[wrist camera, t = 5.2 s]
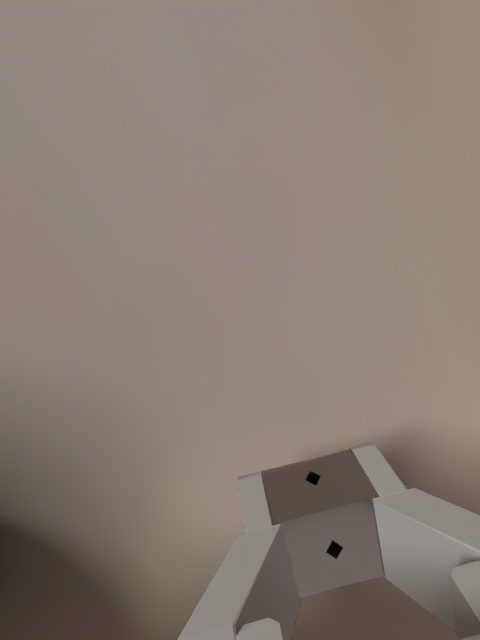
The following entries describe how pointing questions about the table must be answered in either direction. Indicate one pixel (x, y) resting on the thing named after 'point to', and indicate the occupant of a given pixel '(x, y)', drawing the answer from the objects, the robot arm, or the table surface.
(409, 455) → the table surface
